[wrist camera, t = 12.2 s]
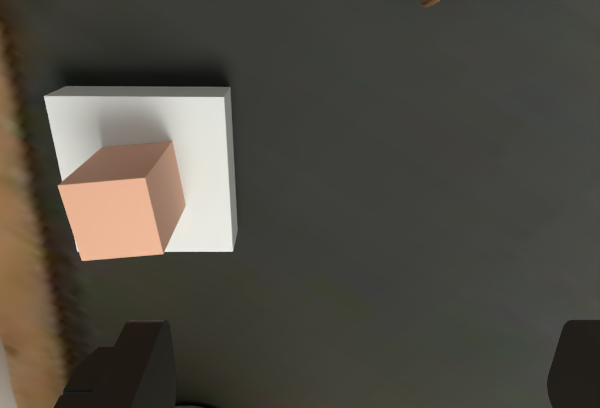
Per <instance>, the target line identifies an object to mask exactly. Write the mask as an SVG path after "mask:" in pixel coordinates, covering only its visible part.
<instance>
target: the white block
mask: <svg viewBox="0 0 600 408" xmlns="http://www.w3.org/2000/svg"><path fill="white" fill-rule="evenodd" d="M44 99H45V103H46V108H47V113H48V117H49V122H50V126H51V131H52V136H53V140H54V145H55V150H56V154H57V159H58V164H59V168H60V173H61V178H62V181H63V180H65V179H66V178H67V177H68V176H69V175H70V174H71V173H73V172H74V171H75V170H76V169H77V168H78V167H80V166H81V165H82V164H83V163H84V162H85V161H87V160H88V159H89V158H90V157H91V156H92V155H93V154H95V153H96V152H97V151H98V150H99V149H100V148H102V147H111V146H122V145H133V144H145V143H156V142H167V141H173V145H174V150H175V155H176V160H177V165H178V170H179V175H180V180H181V184H182V189H183V194H184V199H185V204H186V206H185V209H184V211H183V213H182V215H181V217H180V219H179V221H178V224H177V226H176V228H175V230H174V232H173V234H172V236H171V239H170V241H169V243H168V245H167V247H166V249H165V251H164V252H233V249H234V244H235V240H236V235H237V231H238V229H237V210H236V190H235V171H234V151H233V132H232V113H231V93H230V87H150V86H65V87H63V88H61V89H59V90H56V91H54V92H52V93H50V94H47V95H45V96H44ZM75 243H76V241H75ZM76 247H77V244H76ZM77 252H79V250H78V247H77Z"/></svg>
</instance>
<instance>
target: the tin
mask: <svg viewBox="0 0 600 408" xmlns="http://www.w3.org/2000/svg"><path fill="white" fill-rule="evenodd" d="M438 1H440V0H421V2H422V6H423V7H429V6H432V5H433V4H435V3H436V2H438Z"/></svg>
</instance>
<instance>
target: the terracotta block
mask: <svg viewBox="0 0 600 408" xmlns="http://www.w3.org/2000/svg"><path fill="white" fill-rule="evenodd" d="M58 188H59V191H60V194H61V197H62V201H63V204H64V207H65V210H66V213H67V216H68V219H69V222H70V225H71V228H72V232H73V235H74V238H75V241H76V244H77V247H78V250H79V253H80V256H81V259H82V261H87V260H99V259H110V258H122V257H134V256H146V255H157V254H163V253H164V251H165V249H166V247H167V245H168V243H169V241H170V239H171V236H172V234H173V232H174V230H175V228H176V226H177V224H178V221H179V219H180V217H181V215H182V213H183V211H184V209H185V206H186V204H185V199H184V194H183V189H182V184H181V180H180V175H179V170H178V165H177V160H176V155H175V150H174V145H173V141H167V142H156V143H145V144H133V145H122V146H111V147H102V148H100V149H99V150H98V151H97V152H96V153H95V154H93V155H92V156H91V157H90V158H89V159H88V160H87V161H85V162H84V163H83V164H82V165H81V166H80V167H78V168H77V169H76V170H75V171H74V172H73V173H71V174H70V175H69V176H68V177H67V178H66V179H65V180H63V181H62V182H61V183H60V184H59V185H58Z"/></svg>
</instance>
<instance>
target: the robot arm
mask: <svg viewBox="0 0 600 408" xmlns="http://www.w3.org/2000/svg"><path fill="white" fill-rule="evenodd" d="M547 388H548V395H549V399H550V402H551V405H552V407H553V408H600V320H570V321H568V322H566V324H565V325H564V327H563V329H562V332H561V335H560V339H559V342H558V345H557V349H556V352H555V355H554V358H553V362H552V365H551V368H550V372H549V375H548V380H547ZM176 392H177V379H176V370H175V362H174V355H173V347H172V339H171V331H170V326H169V323H168V321H167V320H130V321H128V322H127V323H126V324H125V326H124V328H123V330H122V332H121V334H120V336H119V338H118V340H117V342H116V344H115V346H114V347H98V348H97V349H96V350H95V351H94V352H93V353H91V354H90V355H89V356H88V357H87V358H86V359H85V360H84V361H83V362H81V363H80V364H79V365H78V366H77V367H76V369H75V370H74V372H73V374H72V376H71V378H70V379H69V381H68V383H67V385H66V387H65V388H64V390H63V395H61V396H60V397H59V399H58V401H57V403H56V404H55V406H54V408H175V402H176Z"/></svg>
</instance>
